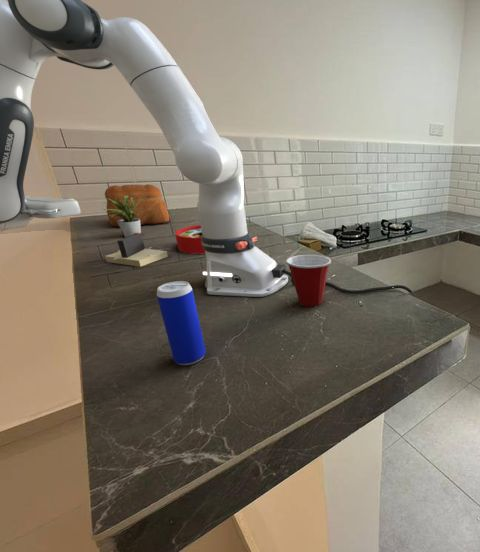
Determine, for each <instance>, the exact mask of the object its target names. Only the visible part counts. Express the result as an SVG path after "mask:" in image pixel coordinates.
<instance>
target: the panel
mask: <svg viewBox="0 0 480 552" xmlns="http://www.w3.org/2000/svg"><path fill="white" fill-rule="evenodd" d="M152 248H153V246H150V247H148V248H145V249H144V250H142V251H140V252H138V253H136V254H134V255H132V256H130V257H128V258H122V255H121V252H120V249H118V250H117V251H116V252H113V253H111V254H107V255H104V258H105V262H106V263H112V264H120V265H127V266H132V267H133V266H134V267H144V266H146V265H150V264H152V263H155V262H157V261H160V260H163V259H166V258H168V257H169V255H168V251H167V250H161V249H152Z"/></svg>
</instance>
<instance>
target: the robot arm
mask: <svg viewBox="0 0 480 552" xmlns="http://www.w3.org/2000/svg"><path fill="white" fill-rule="evenodd" d="M52 57H56V58H57V59H58V60H60V61H63V62H66V63H69V64H73V65H77V66H79V67H83V68H86V69H91V70H99V71H101V70H108V69H111V68H112V67H115V68H116V69H117V70H118V71H119V73H120V74H121V75H122V76H123V78H124V79H125V81H126V82H127V84H128V85H129V86H130V87H131V90H133V92H134V93H135V95H136V96H137V98H138V99H140V102H142V104H143V105H144V106H145V108H146V109H147V110H148V112H149V113H150V115H151V116H152V117H153V119H154V120H155V122H156V123H157V125H158V126H159V129H160V130H161V132H162V134H163V136H164V138H165V140H166V142H167V144H168V146H169V148H170V149H171V151H172V153H173V155H174V159H175V164H176V167H177V169H178V170H179V172H180V174H182V175H183V176H184V177H185V178H186V179H187V180H189V181H191V182H193V183H196V184H198V198H197V199H198V200H197V204H196V206H197V207H196V209H197V213H198V219H199V225H201V230H202V236H201V240H202V246H203V249H204V250H205V254H204V255H205V271H202V275H203V276H205V282H204V287H205V288H206V294H207V295H211V296H229V297H248V298H249V297H250V298H251V297H253V298H262V297H266V296H269V295H272V294H274V293H276V292H278V291H279V290H281V289H282V288H283V287H285V286H286V285H287V283H288V282H289V277H290V282H291V284H292V285H294V281H293V277H292V274H291V271H289V270H287V266H286V265H287V264H282V263H281V264H280V263H279V264H278V263H277V262H276V260H275V259H274V258H272V257H270V256H269V255H268V254H267V253H265V252H264V251H262V250H261V249H260V248H259V247H257V246H256V243H255V242H256V241H258V239H257V238H258V236H254V237H252V235H251V234H250V232H249V231H248V224H247V217H246V208H245V180H244V158H243V157H244V156H243V153H242V151H241V149H240V148H239V147H238V146H237V144H236V143H234V142H233V141H232V140H230V139H229V138H227V137H224V136H221V135H219V134H218V132H217V130H216V128H215V127H214V125H213V123H212V121H211V119H210V117H209V115H208V113H207V111H206V108H205V106H204V102H203V101H202V100H201V98H200V97H199V95H198V94H197V92H196V90H195V88H194V87H193V86H192V84H191V83H190V81H189V80H188V79H187V77H186V75H185V74H184V72H183V70H182V69H181V68H180V66H179V65H178V63H177V62H176V60H175V59H174V58H173V56H172V55H171V54H170V52H169V51H168V49H167V48H166V47H165V46H164V45H163V43H162V42H161V41H160V40H159V39H158V37H157V36H156V35H155V34H154V33H153V32H152V30H151V29H149V27H148V26H147V25H145V24H144V23H143V22H142V21H140V20H139V19H136V18H133V17H128V16H121V17H119V16H118V17H115V18H111V19H104V18H102V17H100V15H99V12H98V11H97V10H96V9H95V8H93V7H92V6H90V5H89V4H88V3H85V2H84V1H83V0H0V232H5V231H9V230H15V229H20V228H26V227H27V226H28V225H29V224H30V221H32V220H33V219H34V218H35V219H56V218H65V217H72V216H77V215H80V214H81V213H82V210H81V206H80V204H79V202H78V200H77V199H75V198H71V197H59V198H58V197H47V196H37V195H36V196H35V195H34V196H33V195H26V194H25V191H24V190H25V189H24V180H25V176H26V170H27V165H28V161H29V157H30V153H31V152H30V151H31V148H32V147H31V146H32V141H33V136H34V130H35V129H34V128H35V119H34V116H33V112H32V95H33V90H34V86H35V82H36V79H37V77H38V74H39V72H40V69H41V66H42V65H43V63H44V62H45V61H46V60H47V59H48V58H52ZM325 286H328V287H331V288H332V289H333V288H334V289H335V290H337V291H339V292H341V293H346V294H353V295H354V294H365V293H370V292H377V291H378V292H379V291H389V290H393V289H402V290H405V291H407V292H408V293H411V294H412V293H413V290H412V289H411V288H409V287H408V286H405V285H402V284H395V285H390V286H389V285H387V286H379V287H378V286H377V287H370V288H364V289H346V288H342V287H340V286H338V285H336V284H335V283H332V282H329V281H326V283H325ZM392 287H394V288H392Z"/></svg>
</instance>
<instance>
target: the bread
mask: <svg viewBox="0 0 480 552" xmlns="http://www.w3.org/2000/svg"><path fill="white" fill-rule="evenodd" d="M127 195H128V196H129V197H128V207H130V201H131V197H132V203H133V202H134V199H135V201H136V202H135V204H134V207H135V205H136V204H137V203H138V202H139V201H140V202H139V203H138V204H137V206H136V207H135V209H134V215H137V216H135V218H136V219H140V226H143V225H158V224H166V223H169V221H170V215H169V212H168V211H169V210H168V208H167V207H168V206H167V204H166V202H165V200H164V199H163V197H162V191H161V189H159V187H157V186H155V185H153V184H149V183H148V184H124V185H110V186H109V187H107V188H106V189H105V191H104V199H106V209H115V208H116V209H117V210H119V209H118V207H117V206H116V207H115V204H114V203H113V202H112V201H111V200H113V201H115V202H117V201H116V200H115V198H116V199H118V200H119V201H120V202H121V203H122V204H123V206H124V203H123V200H124V196H125V197H126V196H127ZM107 198H108V199H107ZM109 199H111V200H109ZM108 204H109V205H108ZM111 204H112V205H111ZM110 205H111V206H110ZM113 205H114V206H113ZM112 206H113V207H114V208H113V207H112ZM141 209H146V210H141ZM139 210H140V211H139ZM137 211H138V212H137ZM110 212H111V213H110ZM136 212H137V213H136ZM112 213H113V214H116V213H115V212H112V211H110V210H106V214H107V217H108V216H109V215H111V216H112ZM135 213H136V214H135ZM118 214H119V213H118ZM120 214H122V213H120ZM122 215H123V214H122ZM111 216H109V217H108V218H107V219H108V221H109V224H110V225H111V226H112V227H116V228H120V226H119V224H118V222H117V221H118V220H122V219H123V218H122V217H121V218H122V219H121V218H120V216H119V217H118V215H117V216H116V215H115V216H113V217H112V218H111ZM123 216H124V215H123Z"/></svg>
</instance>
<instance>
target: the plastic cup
mask: <svg viewBox="0 0 480 552" xmlns="http://www.w3.org/2000/svg"><path fill="white" fill-rule="evenodd" d="M331 259H332V258H329V256H328V257H327V256H324V255H321V254H300V255H299V254H298V255H294V256H290V257H288V258H287V259H286V265H288V267H289V270H290V271H289V272H291V274H292V277H293V281H294V284H293V286H294V290H295V293H296V294H297V299H298V302H299V304H300V306H302V307H306V308H313V307H317V306H320V305H321V304H323V300H324V295H325V294H324V293H325V289H326V285H325V283H326V282H327V276H328V273H329V271H328V270H329V268H330V267H329V266H330V264H332V260H331Z"/></svg>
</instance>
